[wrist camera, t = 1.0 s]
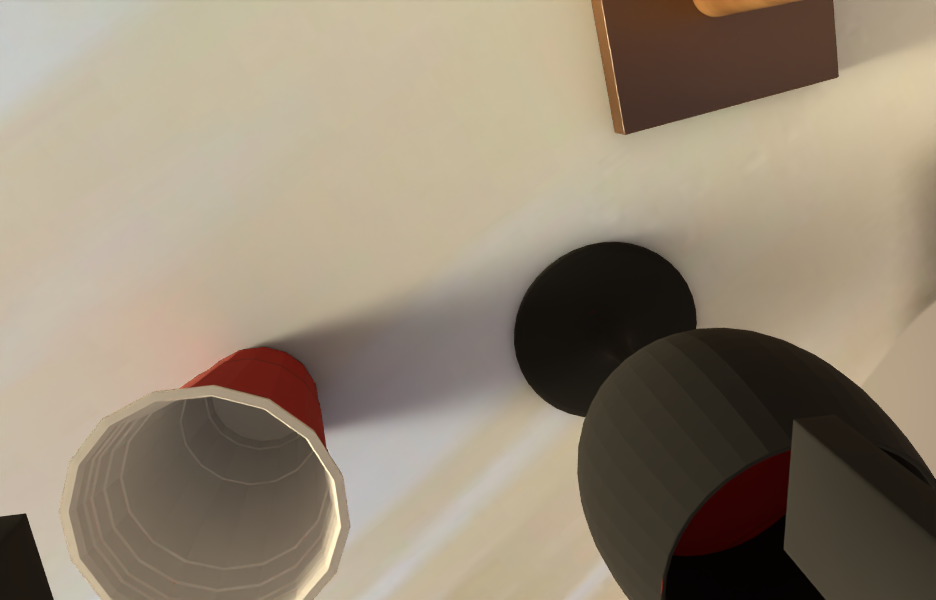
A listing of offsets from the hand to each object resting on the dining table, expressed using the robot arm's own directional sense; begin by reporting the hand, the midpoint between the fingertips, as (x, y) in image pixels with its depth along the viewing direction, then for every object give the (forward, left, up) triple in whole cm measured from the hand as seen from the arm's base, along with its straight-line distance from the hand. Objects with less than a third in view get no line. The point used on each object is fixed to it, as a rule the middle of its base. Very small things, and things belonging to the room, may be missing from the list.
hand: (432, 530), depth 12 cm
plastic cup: (+6, -10, -25) cm, 28 cm away
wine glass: (+8, +9, -25) cm, 28 cm away
